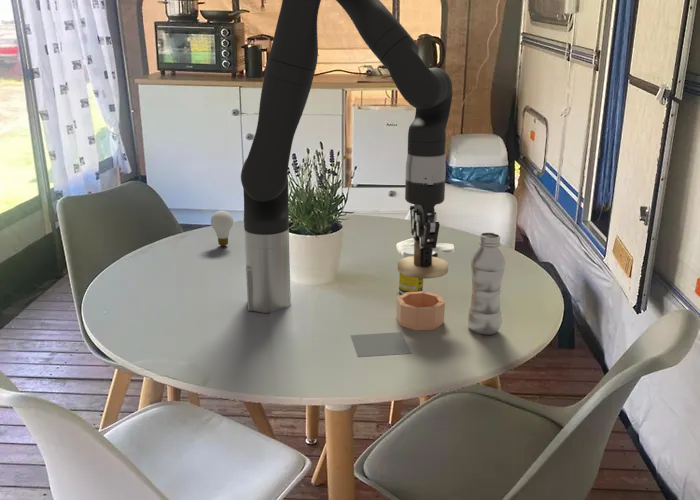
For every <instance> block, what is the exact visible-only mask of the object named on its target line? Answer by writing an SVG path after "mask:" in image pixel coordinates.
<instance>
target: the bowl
mask: <svg viewBox="0 0 700 500" xmlns="http://www.w3.org/2000/svg"><path fill="white" fill-rule="evenodd" d="M445 305H446V302H445V300H444V299H443V297H442V296H441V295H440V294H436V293H433V292H428V291H420V292H406V293H404V294H401V295H400V296H397V297H396V313H395V314H396V320H397V322H398V324H399V326H400V327H404V328H407V329H410V330H413V331H428V330H429V331H430V330H435V329H438V328H439V327H440V326H441V325H443V324H444V323H445V310H446V309H445V308H446V306H445Z"/></svg>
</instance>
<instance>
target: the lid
mask: <svg viewBox="0 0 700 500" xmlns="http://www.w3.org/2000/svg"><path fill="white" fill-rule="evenodd" d="M428 240H429V239H428ZM428 240H427V242H429V241H428ZM419 245H420V240H417V241H415V242H414V256H409V257H405V258H404V257H402V258H400V259H399V260H398V261H397V267H396V268H397V271H398V273H399V274H400V273H401V274H403V275H405V276H408V277H412V278H421V279H423V280H426V279H427V280H428V279H435V278H436V279H437V278H440V277H443V276H445V275H446V274H448V272H449V262H448V261H447V260H445V259H443V258H440V257H432V256H431V266H429V267H421V266H420V264H419V258H420V246H419ZM432 251H434V250H433V248H432Z"/></svg>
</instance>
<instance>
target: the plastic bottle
mask: <svg viewBox="0 0 700 500" xmlns="http://www.w3.org/2000/svg"><path fill="white" fill-rule="evenodd" d="M478 244H479V247H478V248H477V249H476V250H475V251H474V252H473V254H472V256H471V257H470V258H471V259H470V269H471V286H472V288H471V297H470V298H471V300H470V306H469V308H468V309H469V310H468V313H467V317H466V318H467V319H466V320H467V325H468V327H469V329H470V330H471V331H472V332H473V333H475V334H479V335H486V336H487V335H489V336H490V335H493V334H496V333H498V332H499V331H500V330H501V326H502V322H503V319H502V318H503V317H502V311H501V310H502V309H501V289H502V282H503V277H504V274H505V267H506V259H505V257H504V254H503V252H502V251H501V250H500V248H499V247H500V246H501V235H500V234H499V233H495V232H482V233H481V234H480V236H479V241H478Z"/></svg>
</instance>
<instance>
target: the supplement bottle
mask: <svg viewBox="0 0 700 500" xmlns="http://www.w3.org/2000/svg"><path fill="white" fill-rule="evenodd" d="M409 256H414V249H406V250H404V254H403V256H402V258H405V257H409ZM398 279H399V280H398V281H399V282H398V283H399V284H398V291H399V293H400V294H401V295H403V294H404V293H406V292H420V291H423V290H424V279H421V278H412V277H408V276H405V275H403V274H401V273H400V272H399V278H398Z"/></svg>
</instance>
